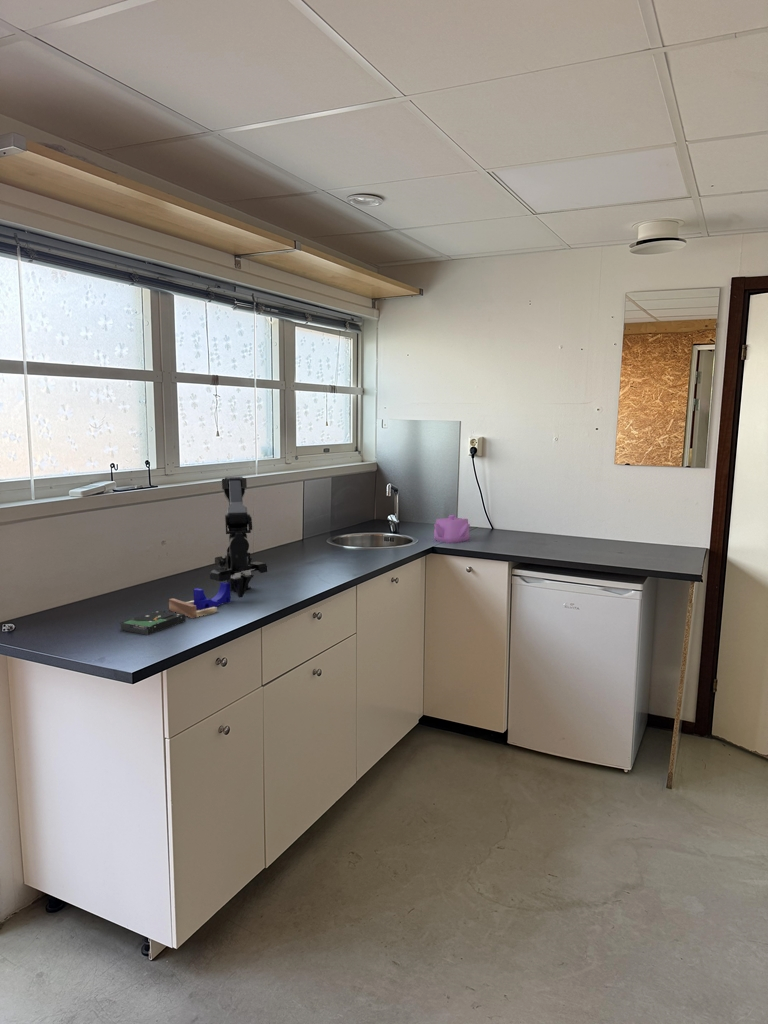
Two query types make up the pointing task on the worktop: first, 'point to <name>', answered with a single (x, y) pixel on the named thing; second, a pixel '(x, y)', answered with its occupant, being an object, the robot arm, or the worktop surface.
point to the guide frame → (189, 608)
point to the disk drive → (152, 622)
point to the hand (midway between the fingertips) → (240, 597)
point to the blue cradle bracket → (220, 598)
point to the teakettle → (451, 529)
